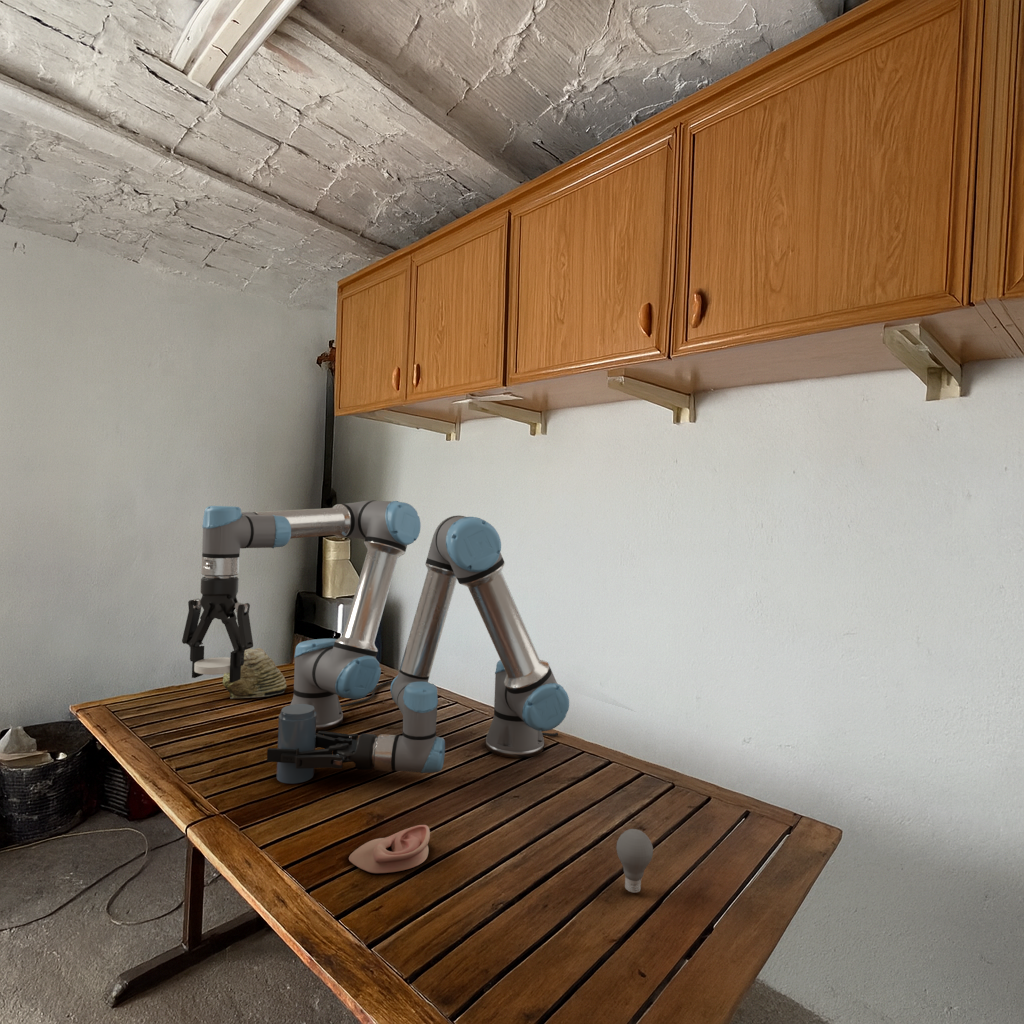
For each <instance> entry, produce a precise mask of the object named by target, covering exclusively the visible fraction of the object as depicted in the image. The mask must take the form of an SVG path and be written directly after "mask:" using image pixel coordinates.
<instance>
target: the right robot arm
mask: <svg viewBox="0 0 1024 1024" xmlns="http://www.w3.org/2000/svg"><path fill="white" fill-rule="evenodd" d="M501 552H502V541H501V536H500V534H499V532H498V530H497V528H495V527H494V526H493V525H492V524H491V523H489V522H488V521H486V520H485V519H482V518H481V517H478V516H477V517H476V516H465V515H452V516H449V517H447V518H445V519H444V520H442V521H441V522H440V523H439V524H438V525H437V527H436V529H435V530H434V533H433V535H432V538H431V542H430V545H429V549H428V553H427V556H426V560H425V566H426V568H427V572H426V575H425V579H424V583H423V586H422V589H421V592H420V596H419V600H418V604H417V606H416V610H415V614H414V618H413V620H412V624H411V628H410V631H409V635H408V638H407V642H406V644H405V645H406V646H405V649H404V651H403V656H402V659H401V663H400V667H399V670H398V673H397V675H396V676H395V677H394V678H393V679H392V680H393V681H392V683H390V689H389V690H390V695H391V698H392V701H393V703H395V705H396V706H397V707H398V709H399V711H400V713H401V714H402V735H398V734H382V733H381V734H379V735H377V734H375V733H361V734H357V733H341V732H333V731H327V730H325V731H318V732H317V733H316V745H315V748H321V749H315V750H310V751H301V752H299V748H298V749H277V748H278V747H277V748H276V747H275V748H273V747H268V748H267V751H266V762H267V763H277V762H283V763H296V768H297V769H303V768H315V769H338V770H340V769H341V770H342V769H343V767H344V764H345V763H354V766H355V768H356V769H357V770H367V771H372V770H373V769H374V770H375V771H385V772H386V773H389V772H390V771H391V772H393V771H394V772H407V773H421V774H431V773H432V774H433V773H440V772H441V771H442V770H443V767H444V764H445V755H446V740H445V739H444V738H443V737H441V736H437V719H438V718H437V717H438V705H439V698H438V687H437V685H436V684H434V683H431V682H429V679H430V676H431V671H432V669H433V666H434V665H433V664H434V661H435V658H436V654H437V652H438V648H439V644H440V640H441V637H442V634H443V630H444V627H445V623H446V620H447V616H448V614H449V613H448V612H449V609H450V607H451V602H452V598H453V595H454V591H455V587H456V584H457V582H458V584H459V585H462V586H464V587H467V588H468V591H469V593H470V595H471V596H472V597H471V598H472V599H473V602H474V604H475V607H476V608H477V611H478V613H479V615H480V618H481V619H482V621H483V624H484V626H485V629H486V631H487V634H488V635H489V637H490V639H491V642H492V644H493V646H494V648H495V649H494V650H496V653H497V656H498V657H499V660H498V661H497V662H496V664H495V665H496V667H495V672H494V675H495V676H494V677H495V678H494V703H493V718H492V720H491V723H490V726H489V729H488V731H487V734H486V737H485V748H486V749H487V750H488V751H489V752H490V753H492V754H494V755H496V756H500V757H505V758H510V759H511V758H512V759H525V758H531V757H535V756H538V755H539V754H541V753H542V752H544V750H545V739H544V736H545V737H557V736H559V733H558V732H553V733H549V732H547V731H552V730H554V729H556V728H557V727H558V726H560V725H561V724H562V722H564V720H565V719H566V717H567V713H568V712H569V709H570V698H569V694H568V692H567V691H566V690H565V688H564V686H562V685H561V684H559V683H558V681H557V679H556V677H555V674H554V672H553V670H552V668H551V665H550V664H549V662H548V661H546V660H543V659H541V658H540V656H539V654H538V652H537V649H536V647H535V645H534V643H533V641H532V638H531V636H530V634H529V632H528V631H529V630H528V629H527V627H526V624H525V622H524V620H523V617H522V615H521V613H520V610H519V608H518V606H517V603H516V601H515V598H514V597H513V595H512V592H511V590H510V587H509V585H508V582H507V581H506V578H505V576H504V574H503V570H504V566H505V564H506V562H505V560H504V558H503V555H502V553H501Z"/></svg>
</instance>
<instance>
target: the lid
mask: <svg viewBox="0 0 1024 1024" xmlns="http://www.w3.org/2000/svg"><path fill="white" fill-rule="evenodd" d="M194 671H195V672H196V673H199V674H203V675H205V676H206V675H207V676H208V675H212V676H213V675H215V676H216V675H224V674H225V673H229V672H230V657H227V656H222V657H220V656H219V657H218V656H217V657H208V658H204V659H202V660H199V661H197V662H195V663H194Z"/></svg>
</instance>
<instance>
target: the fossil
mask: <svg viewBox="0 0 1024 1024" xmlns="http://www.w3.org/2000/svg"><path fill="white" fill-rule="evenodd" d="M222 676H223V677H222V685H223V687H224V688H225V690H226V691H228V693H229V698H230V699H250V698H264V697H271V696H275V695H281V694H284V693H285V691H286V689H287V687H288V686H287V680H286V678H285V676H284V674H283V673H282V672H281V669H279V668H278V667H277V665H276V663H275V662H274V660H273V659H272V658H271V657H270V656H269V655H268V654H267V653H266V652H265V650H264V649H263V648H260V647H258V648H249V649H247V650H245V652H244V664H243V665H242V666H241V677H240V680H238V681H235V682H233V683H231V682H229V680H230V672H229V673H225V674H222Z"/></svg>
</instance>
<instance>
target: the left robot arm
mask: <svg viewBox="0 0 1024 1024" xmlns="http://www.w3.org/2000/svg"><path fill="white" fill-rule="evenodd" d="M201 527H202V546H201V547H202V549H201V551H202V553H201V570H200V571H201V573H200V574H201V575H202V577H201V578H200V594H201V598H194V599H190V600H188V603H187V605H188V613H187V617H186V622H185V626H184V630H183V634H182V639H181V643H182V644H183V645H185V644H186V645H188V646H189V660H190V662H191V679H196V678H198V677H201V676H204V674H199V673H196V672H195V671H194V663H195V662H197V661H199V660H202V659H205V645H204V642H203V641H204V640H205V637H206V635H207V632H208V631H209V628H210V626H211V625H212V622H213V621H214V620H215V619H217V620H220V621H221V623H222V624H223V625H224V627H225V630H226V632H227V635H228V638H229V641H230V643H231V646H232V649H233V650H232V651H231V652H230V657H229V658H230V680H229V682H231V683H233V682H235V681H238V680H240V677H241V666H242V665H243V664H244V652H245V650H247V649H249V648H250V649H253V647H254V640H253V634H252V628H251V627H252V626H251V620H250V607H251V604H250V603H249V602H246V603H242V602H239V601H238V598H237V595H238V593H239V580H240V579H239V578H238V576H237V575H239V574H240V552H241V549H269V548H270V549H275V548H282V547H283V548H284V547H286V545H288V544H289V542H290V540H291V539H301V538H303V539H304V538H312V537H324V536H335V537H336V538H339V539H343V538H354V539H360V540H364V542H363V545H364V546H365V548H366V549H367V552H366V554H365V558H364V562H363V564H362V569H361V572H360V575H359V578H358V582H357V586H356V588H355V591H354V596H353V598H352V603H351V605H350V609H349V612H348V616H347V619H346V622H345V626H344V629H343V633H342V635H341V636H339V637H338V638H317V639H308V640H304V641H300V642H299V643H298V644H297V645H296V646H295V650H294V655H293V657H294V672H293V673H294V674H293V695H292V696H293V697H292V699H291V702H290V704H289V705H293V704H308V705H312V706H313V707H314V711H315V712H316V713H317V719H316V733H318V731H329V730H332V729H335V728H337V727H339V726H340V725H342V723H343V722H344V713H343V709H342V708H345V707H350V706H353V705H357V704H362V703H366V702H367V701H369V700H372V699H373V698H374V697H375V694H376V691H377V690H378V689H379V688H381V687H383V686H385V685H388V684H391V683H392V681H393V680H394V679H391V680H387V681H385V682H382V683H380V684H379V682H380V679H381V674H382V668H381V667H380V665H381V664H380V662H379V661H378V658H377V655H378V652H379V650H378V648H377V646H376V644H375V642H376V638H377V634H378V631H379V627H380V623H381V620H382V617H383V612H384V609H385V605H386V603H387V599H388V595H389V592H390V588H391V584H392V581H393V578H394V574H395V570H396V567H397V563H398V560H399V558H400V557H402V556H403V555H405V554H406V551H407V548H408V546H409V545H411V544H414V542H416V541H417V539H418V538H419V536H420V533H421V529H422V528H421V527H422V526H421V518H420V516H419V514H418V511H417V509H416V508H415V507H414V506H413V505H411V504H410V503H408V502H402V501H398V500H392V501H390V500H374V499H369V500H361V501H356V502H349V503H337V504H335V505H333V506H332V507H325V508H305V509H284V510H283V509H282V510H266V511H265V510H264V511H252V512H251V511H245V512H243V511H242V509H241V507H240V506H233V505H231V506H230V505H209V506H207V507H206V508H205V509H204V513H203V519H202V526H201ZM202 609H203V611H202ZM201 612H202V613H201ZM371 693H372V694H371ZM370 694H371V695H370ZM368 695H370V696H369V697H367V696H368ZM339 697H340V698H344V699H349V700H356V701H352V702H349V703H344V704H343V703H342V704H341V702H340V699H339ZM366 697H367V698H366Z"/></svg>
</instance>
